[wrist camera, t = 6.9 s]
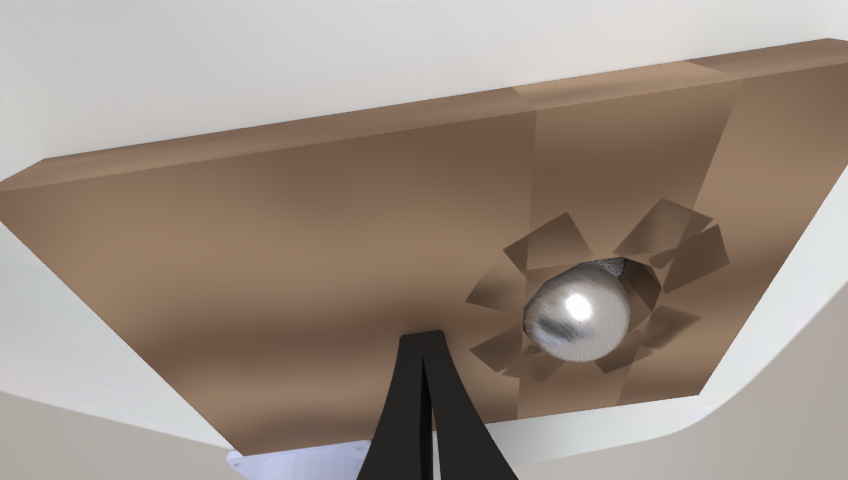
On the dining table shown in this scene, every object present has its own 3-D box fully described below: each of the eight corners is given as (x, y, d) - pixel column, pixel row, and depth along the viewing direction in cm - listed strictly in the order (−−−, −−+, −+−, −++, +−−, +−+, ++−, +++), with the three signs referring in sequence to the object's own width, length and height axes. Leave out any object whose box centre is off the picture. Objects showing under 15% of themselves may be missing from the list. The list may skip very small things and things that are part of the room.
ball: (664, 324, 12) (606, 403, 11) (575, 297, 15) (523, 358, 14) (635, 243, 11) (565, 325, 9) (544, 232, 14) (483, 293, 13)
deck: (670, 356, 18) (698, 394, 16) (256, 413, 18) (243, 456, 16) (828, 38, 9) (920, 51, 8) (44, 159, 10) (-27, 195, 8)
